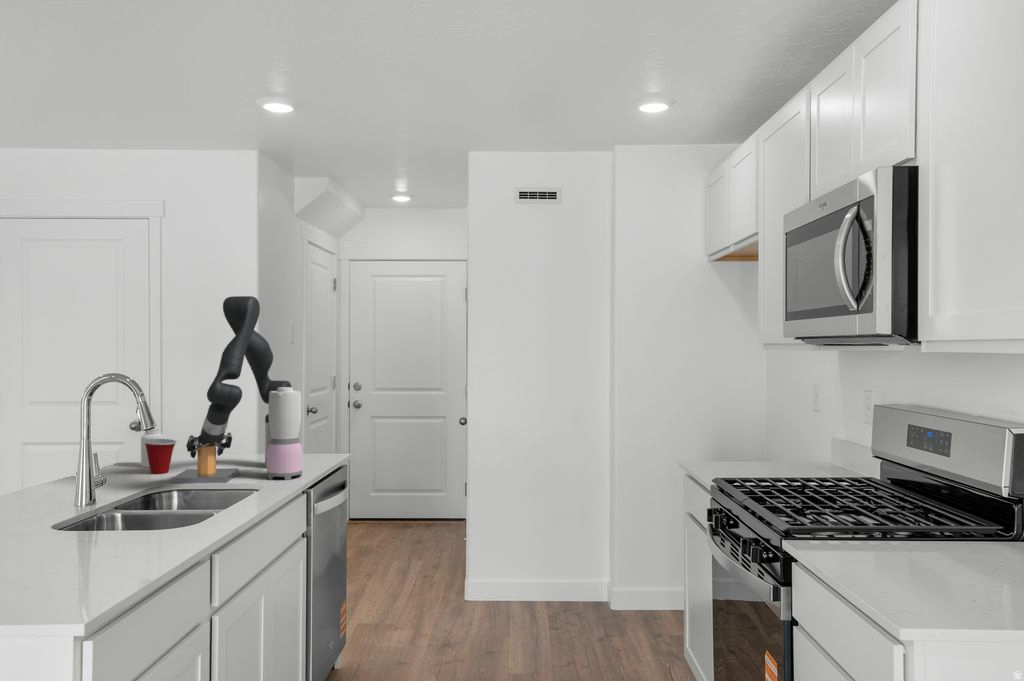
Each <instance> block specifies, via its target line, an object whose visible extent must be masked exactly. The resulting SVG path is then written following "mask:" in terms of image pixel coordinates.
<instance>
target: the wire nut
mask: <svg viewBox="0 0 1024 681" xmlns="http://www.w3.org/2000/svg"><path fill="white" fill-rule="evenodd" d="M201 445H202V444H201ZM196 466H197V468H196V469H197V474H201V475H203V474H214V473H216V469H217V446H216V445H215V446H208V447H204V448H202V449H201V450H200V449H199V450H198V451H197V464H196Z"/></svg>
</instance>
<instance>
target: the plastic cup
mask: <svg viewBox="0 0 1024 681" xmlns="http://www.w3.org/2000/svg"><path fill="white" fill-rule="evenodd" d="M144 443H145V445H146V450H147V455H148V461H149V465H150V467H149V470H150V473H151V474H152V475H160V474H161V475H162V474H167V473H169V471H170V465H171V461H172V456H173V451H174V449H175V448H174V447H175V445H176V444H177V443H178V442H177V441H176V440H175V439H170V438H169V439H168V438H164V439H149V440H145V441H144Z"/></svg>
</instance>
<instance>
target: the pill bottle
mask: <svg viewBox="0 0 1024 681" xmlns="http://www.w3.org/2000/svg"><path fill="white" fill-rule="evenodd" d="M160 432H161V428H160V426H157V425H155V428H154V429H152V430H150V431H145V430H144V434H143V435H141V437H140V464H141V465H140V466H141V467H142V468H150V465H149V461H148V455H147V450H146V445H145V443H144V441H145V440H149V439H165V436H164V434H162V433H160Z"/></svg>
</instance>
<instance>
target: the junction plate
mask: <svg viewBox="0 0 1024 681" xmlns="http://www.w3.org/2000/svg"><path fill="white" fill-rule="evenodd" d="M239 474H240V468H236V467H235V468H234V467H233V468H216V473H214V474H203V475H201V474H197V468H187V469H185V470H183V471H182V472H180V473H178V474H176V475H174V476H173V477H171V484H174V485H176V484H216V483H217V484H222V483H223V484H225V483H229V482H231V480H232V479H234V478H235V477H237V476H238V475H239Z"/></svg>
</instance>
